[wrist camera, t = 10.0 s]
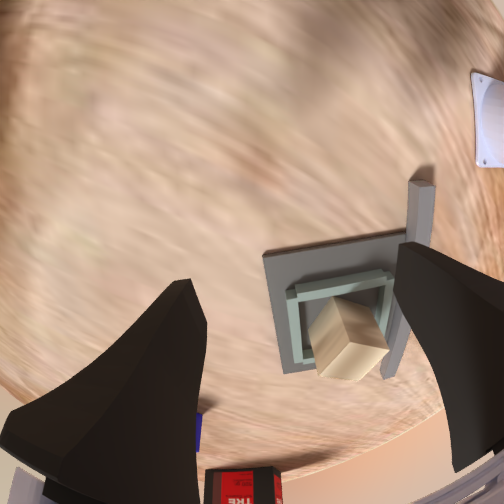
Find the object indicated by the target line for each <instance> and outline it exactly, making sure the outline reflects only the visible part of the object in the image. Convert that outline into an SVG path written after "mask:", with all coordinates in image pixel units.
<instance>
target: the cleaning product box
mask: <svg viewBox="0 0 504 504" xmlns="http://www.w3.org/2000/svg"><path fill="white" fill-rule="evenodd" d="M204 487H205V488H204V504H283V499H282V485H281V473H280V472H279V471H278V470H277V469H276V468H274V467H273V466H270V467H260V468H247V469H222V470H206V471H205V486H204Z"/></svg>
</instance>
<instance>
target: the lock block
mask: <svg viewBox="0 0 504 504" xmlns="http://www.w3.org/2000/svg"><path fill="white" fill-rule="evenodd" d="M308 333H309V337H310V341H311V346H312V350H313V354H314V359H315V363H316V368H317V372H318V376H320V377H327V378H335V379H342V380H351V381H359V380H360V379H361V378H362V377H363V376H365V375H366V374H367V373H368V372H369V371H370V370H371V369H372V368H373V367H374V366H375V365H376V364H377V363H378V362H379V361H380V360H381V359H382V358H383V357H384V356H385V355H386V354H387V353H388V352H389V351H390V349H389V347H388V345H387V343H386V341H385V338H384V336H383V334H382V332H381V330H380V328H379V326H378V324H377V322H376V320H375V318H374V316H373V314H372V312H371V310H370V308H369V307H366V306H363V305H360V304H357V303H354V302H351V301H348V300H345V299H341V298H338V297H335V296H332V297H331V298H330V300H329V301H328V303H327V304H326V305H325V307H324V308H323V310H322V311H321V312H320V314H319V315H318V317H317V318H316V319H315V321H314V322H313V323H312V325H311V326H310V327H309V329H308Z"/></svg>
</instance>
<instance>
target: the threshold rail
mask: <svg viewBox="0 0 504 504" xmlns="http://www.w3.org/2000/svg"><path fill="white" fill-rule="evenodd" d="M434 202H435V185H433V184H431V183H429V182H427V181H425V180H417V181H408V210H407V225H406V237H405V242H411V241H414V242H417V243H420V244H422V245H425V246H427V247H429V246H430V239H431V231H432V223H433V213H434ZM410 330H411V327H410V326H409V324H408V322H407V320H406V319H405V317H404V315H403V313H402V311H401V309H400V307H399V304H398V302H397V301H396V306H395V311H394V316H393V320H392V325H391V329H390V333H389V337H388V341H387V345H388V347H389V349H390V351H389V352H388V353H387V354H386V355H385V356H384V357H383V360H382V363H381V367H380V373H381V375H382V378H383V380H384V379H387V378H391V377H394V376H395V374H396V371H397V369H398V366H399V363H400V361H401V358H402V355H403V352H404V349H405V346H406V343H407V340H408V337H409V334H410Z"/></svg>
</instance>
